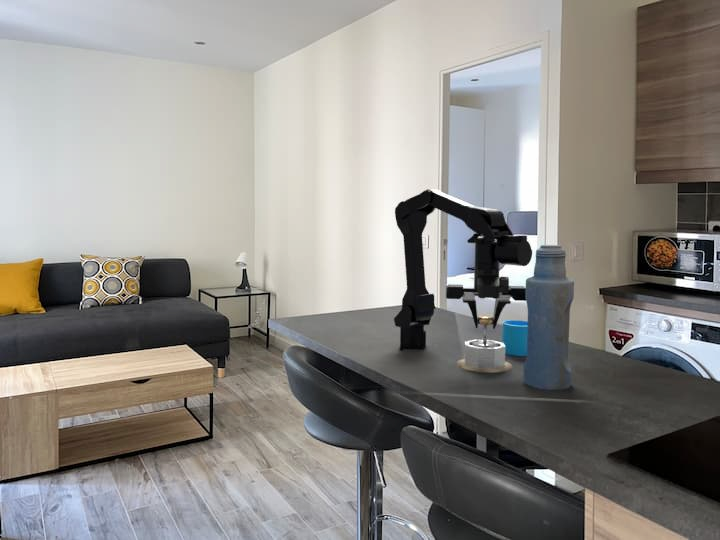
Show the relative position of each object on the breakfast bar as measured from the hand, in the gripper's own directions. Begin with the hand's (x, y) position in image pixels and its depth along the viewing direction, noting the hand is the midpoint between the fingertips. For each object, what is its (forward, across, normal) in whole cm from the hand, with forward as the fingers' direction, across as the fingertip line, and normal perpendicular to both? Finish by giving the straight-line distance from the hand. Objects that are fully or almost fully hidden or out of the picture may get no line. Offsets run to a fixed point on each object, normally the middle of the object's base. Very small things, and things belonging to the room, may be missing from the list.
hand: (485, 328), depth 134 cm
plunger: (+5, 0, 0) cm, 5 cm away
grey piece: (+9, 0, +2) cm, 9 cm away
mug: (+10, +9, +16) cm, 21 cm away
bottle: (+10, +12, -13) cm, 20 cm away
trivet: (+9, 0, 0) cm, 9 cm away
